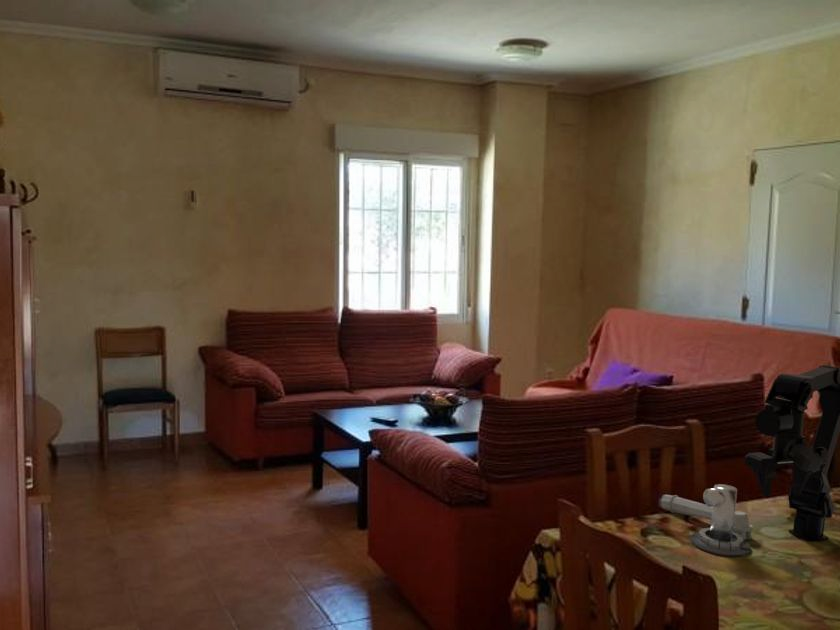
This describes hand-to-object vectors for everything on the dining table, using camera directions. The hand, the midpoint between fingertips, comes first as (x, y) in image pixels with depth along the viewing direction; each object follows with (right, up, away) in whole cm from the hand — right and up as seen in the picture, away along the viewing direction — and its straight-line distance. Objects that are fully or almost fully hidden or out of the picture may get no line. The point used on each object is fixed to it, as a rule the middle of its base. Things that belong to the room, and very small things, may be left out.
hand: (781, 496), depth 180 cm
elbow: (-13, -11, +3) cm, 17 cm away
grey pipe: (-12, -11, +17) cm, 23 cm away
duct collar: (-13, -12, +3) cm, 18 cm away
